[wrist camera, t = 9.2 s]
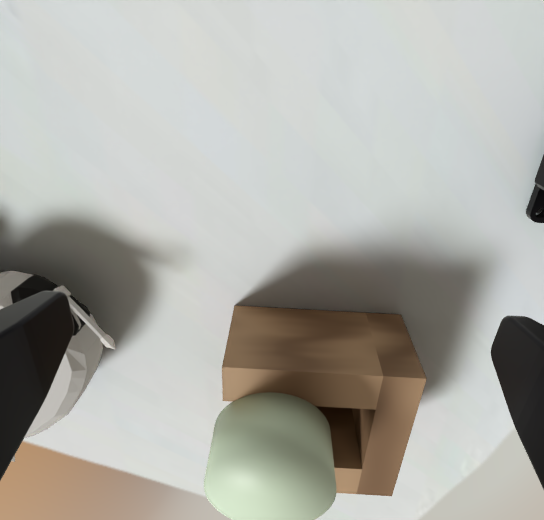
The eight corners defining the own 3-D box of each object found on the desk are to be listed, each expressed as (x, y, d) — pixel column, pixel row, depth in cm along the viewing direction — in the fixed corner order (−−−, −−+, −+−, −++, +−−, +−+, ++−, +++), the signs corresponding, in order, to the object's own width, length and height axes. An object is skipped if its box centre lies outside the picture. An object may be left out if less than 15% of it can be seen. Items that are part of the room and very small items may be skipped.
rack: (400, 314, 24) (426, 378, 19) (375, 423, 28) (391, 495, 23) (234, 305, 24) (221, 367, 19) (234, 415, 28) (224, 485, 24)
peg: (320, 428, 25) (329, 532, 20) (223, 423, 25) (206, 524, 20) (331, 354, 23) (344, 451, 17) (221, 347, 23) (201, 442, 17)
